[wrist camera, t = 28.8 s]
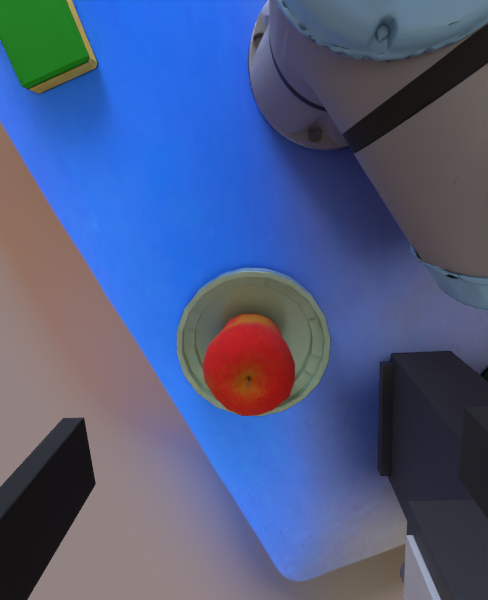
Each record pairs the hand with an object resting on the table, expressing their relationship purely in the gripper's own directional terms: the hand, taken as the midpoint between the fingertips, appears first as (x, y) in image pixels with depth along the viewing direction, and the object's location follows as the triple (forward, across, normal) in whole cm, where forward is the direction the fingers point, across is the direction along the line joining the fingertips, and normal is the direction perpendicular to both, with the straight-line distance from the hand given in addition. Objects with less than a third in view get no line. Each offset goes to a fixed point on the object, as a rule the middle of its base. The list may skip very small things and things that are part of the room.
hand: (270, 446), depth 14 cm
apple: (+30, -2, -7) cm, 31 cm away
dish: (+31, -2, -7) cm, 31 cm away
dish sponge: (+31, -21, +27) cm, 46 cm away
